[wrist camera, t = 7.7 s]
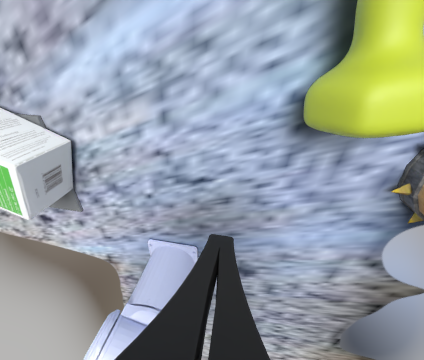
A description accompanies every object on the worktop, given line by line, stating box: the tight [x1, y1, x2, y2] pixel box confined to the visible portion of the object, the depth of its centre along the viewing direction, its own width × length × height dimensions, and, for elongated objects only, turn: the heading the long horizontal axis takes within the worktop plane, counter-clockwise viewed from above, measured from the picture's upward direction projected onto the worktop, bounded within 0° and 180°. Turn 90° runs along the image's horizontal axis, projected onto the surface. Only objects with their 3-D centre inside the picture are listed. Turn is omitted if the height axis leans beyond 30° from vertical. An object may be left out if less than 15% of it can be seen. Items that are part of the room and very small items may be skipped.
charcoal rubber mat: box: [15, 114, 83, 212], centre depth 25 cm, size 14×18×1 cm
